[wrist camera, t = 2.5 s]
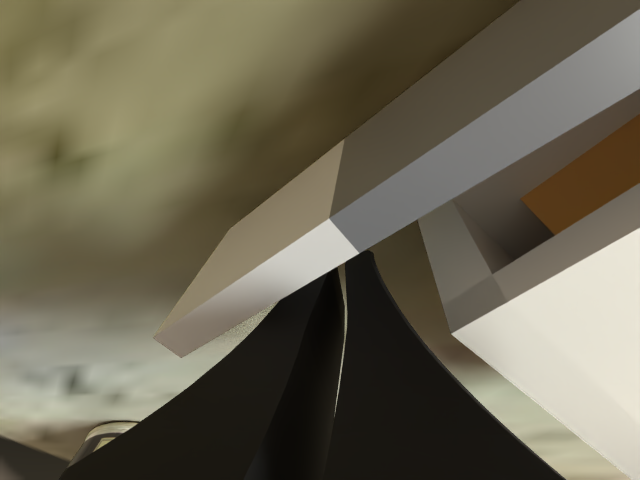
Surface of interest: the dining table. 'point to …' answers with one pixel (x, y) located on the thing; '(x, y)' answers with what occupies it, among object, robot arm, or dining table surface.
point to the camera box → (555, 277)
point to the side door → (419, 155)
